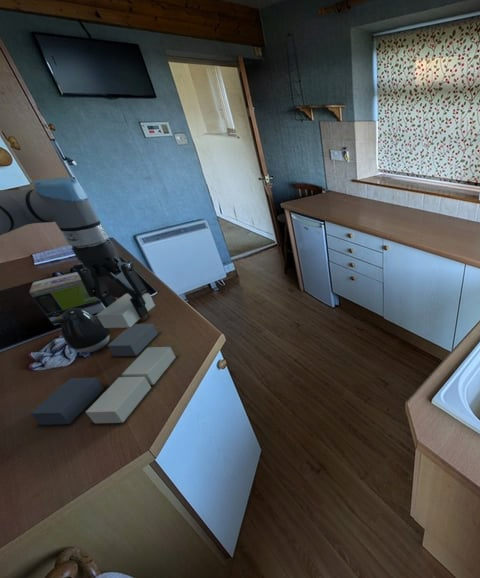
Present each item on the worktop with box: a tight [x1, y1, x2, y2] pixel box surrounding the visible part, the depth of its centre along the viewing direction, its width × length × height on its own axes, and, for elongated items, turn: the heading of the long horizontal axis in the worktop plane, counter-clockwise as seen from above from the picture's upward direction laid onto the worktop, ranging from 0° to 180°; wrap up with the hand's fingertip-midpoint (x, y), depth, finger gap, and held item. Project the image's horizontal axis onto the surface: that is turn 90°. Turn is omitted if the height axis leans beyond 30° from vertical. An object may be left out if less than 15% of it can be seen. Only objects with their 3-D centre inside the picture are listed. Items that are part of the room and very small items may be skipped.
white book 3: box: [85, 376, 152, 424], centre depth 77 cm, size 7×11×4 cm, turn 2°
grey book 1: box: [29, 377, 105, 426], centre depth 76 cm, size 7×11×4 cm, turn 2°
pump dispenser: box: [50, 308, 111, 354], centre depth 93 cm, size 10×10×15 cm
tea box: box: [28, 271, 105, 326], centre depth 110 cm, size 15×10×15 cm, turn 130°
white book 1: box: [96, 292, 156, 329], centre depth 85 cm, size 7×11×4 cm, turn 1°
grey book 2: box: [107, 323, 159, 357], centre depth 97 cm, size 7×11×4 cm, turn 2°
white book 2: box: [121, 346, 176, 386], centre depth 87 cm, size 7×11×4 cm, turn 2°
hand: (130, 315), depth 86 cm, fingers closed on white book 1, 7 cm apart
